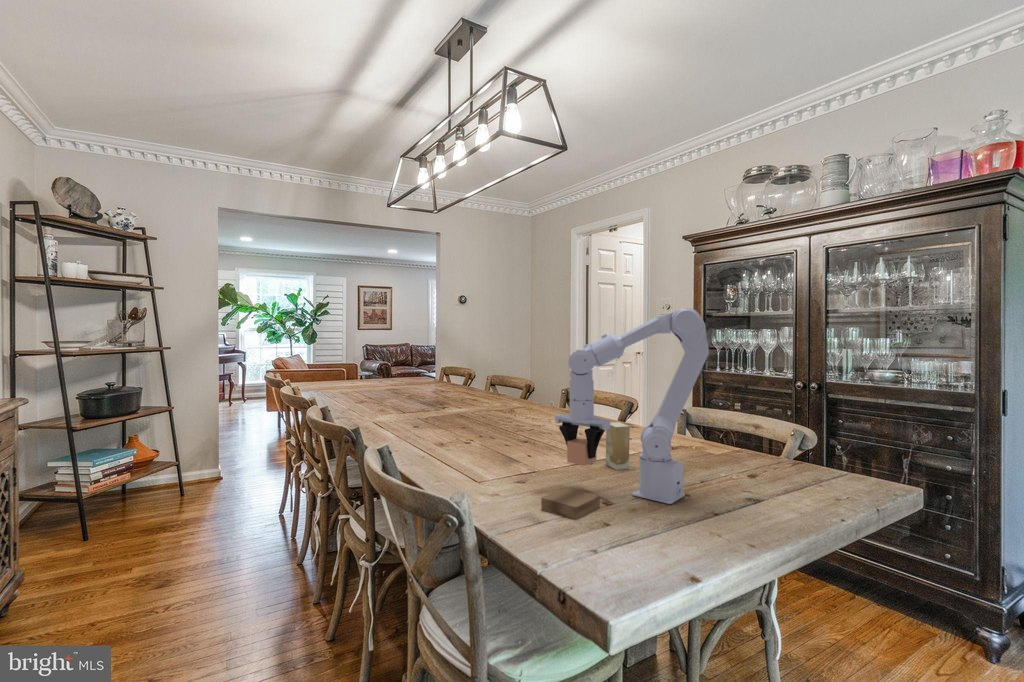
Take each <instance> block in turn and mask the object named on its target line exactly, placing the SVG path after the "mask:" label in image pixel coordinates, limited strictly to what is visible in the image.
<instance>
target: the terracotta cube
mask: <svg viewBox="0 0 1024 682" xmlns="http://www.w3.org/2000/svg"><path fill="white" fill-rule="evenodd" d="M566 453H567V455H566V456H567V457H566V460H567V463H570V464H575V465H580V466H588V465H591V464H593V463H596V462H597V454H596V455H595V457H594V458H592V459H589V458H588V445H587V438H582V437H577V439H574V440H570V441H567V445H566Z"/></svg>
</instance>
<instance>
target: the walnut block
mask: <svg viewBox="0 0 1024 682" xmlns="http://www.w3.org/2000/svg"><path fill="white" fill-rule="evenodd" d="M600 497H601V496H600V495H597V494H593V493H588V492H586V491H585V492H584V491H580V490H576V489H572V488H568V487H564V488H562V489H560V490H557V491H554V492H552V493H550V494H548V495H545V496H543V497H541V498H540V499H541V511H545V512H548V513H550V514H554V515H558V516H562V517H564V518H569V519H572V520H576V521H577V520H579V519H581V518H584V517H585V516H587V515H589V514H592V513H593V512H594V511H597V510H599V509H600V507H601V504H600V501H601V500H600Z"/></svg>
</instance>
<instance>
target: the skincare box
mask: <svg viewBox="0 0 1024 682" xmlns="http://www.w3.org/2000/svg"><path fill="white" fill-rule="evenodd" d="M630 431H631V429H630V425H627V424H626V423H625V424H624V423H623V422H620V421H615V422H610V429H608V430H605V465H607V466H608V467H610V468H612V469H614V471H619V470H628V469H630Z"/></svg>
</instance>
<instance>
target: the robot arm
mask: <svg viewBox="0 0 1024 682" xmlns="http://www.w3.org/2000/svg"><path fill="white" fill-rule="evenodd" d="M671 333H672V334H673V335H674V336H675V337H676V338H677V340H679V343H680V345H681V347H682V349H683V351H684V354H683V356H682V358H681V360H680V362H679V365H678V367H677V368H676V371H675V374H674V375H673V378H672V379H671V382H670V384H669V386H668V388H667V390H666V392H665V395H664V396H663V399H662V401H661V403H660V406H659V407H658V409H657V412H656V414H655V415H654V417H653V418H652V420H651V422H650V424H648V425H647V426H646V427H644V429H643V430H642V432H641V434H640V442H641V447H642V451H641V452H640V453H639V455H638V456H639V459H638V460H639V463H638V464H639V489H638V490H636V491H634V492H632V494H631V495H632V496H635V497H638V498H642V499H647V500H651V501H655V502H659V503H663V504H667V505H672V504H674V503H675V502H677V501H678V500H680V499H682V498H684V497H685V495H686V494H685V493H684V466H683V463H682V462H681V461H678V460H675V459H673V458H672V457H673V456H672V454H671V450H672V438H673V436H674V434H675V429H676V425H677V422H678V421H679V418H680V416H681V414H682V411H683V409H684V407H685V405H686V403H687V401H688V399H689V397H690V394H691V393H692V391H693V389H694V386H695V384H696V381H697V379H698V378H699V375H700V374H701V371H702V369H703V367H704V365H705V363H706V360H707V359H708V356H709V353H710V348H709V344H708V343H709V342H708V338H707V337H708V336H707V331H706V323H705V322H704V320H703V318H702V317H701V315H700V313H699V312H698V311H697V310H696V309H694V308H690V307H683V308H679V309H678V310H675V311H674V312H673V311H672V312H669V313H666V314H662V315H659V316H655V317H653V318H652V319H650V320H648V321H645V322H644V323H642V324H640V325H638V326H637V327H635V328H633V329H630V330H629V331H627V332H624V333H622V334H621V335H617V334H614V333H610V334H607V333H604V334H603V335H601V336H600V337H601V338H600V339H598V340H595V341H593V342H592V343H590V344H588V343H586V344H584V345H583V349H582V348H581V349H580V348H579V349H576V350H575V351H573V352H572V353H571V354H570V356H569V358H568V367H569V368H570V373H569V377H570V380H569V414H562V413H558V414H555V415H554V417H555V419H554V423H556V424H561V425H559V428H558V429H559V431H560V433H561V434H562V436H563V438H564V441H565V444H566V446H567V441H570V440H574V439H577V438H578V430H579V427H580V426H581V427H588V428H585V429H584V433H585V439H587V445H588V458H589V459H592V458H594V457H595V455H596V456H597V450H598V447H599V444H600V441H601V438H602V437H603V435H604V433H606V430H608V429H610V423H611V420H608V419H602V418H599V417H595V414H594V413H595V411H594V408H595V407H594V405H595V403H594V401H595V400H594V399H595V398H594V397H595V395H594V394H595V392H594V391H595V389H594V388H595V387H594V384H595V382H594V379H593V370H592V369H593V368H594V367H601V366H602V365H606V364H608V363H610V362H612V361H613V360H615V359H618V358H620V357H622V356H623V355H624V353H625V352H624V351H625V350H626V348H628V347H629V346H632V345H634V344H636V343H639V342H641V341H644V340H645V339H647V338H650V337H652V336H654V335H656V334H671Z"/></svg>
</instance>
